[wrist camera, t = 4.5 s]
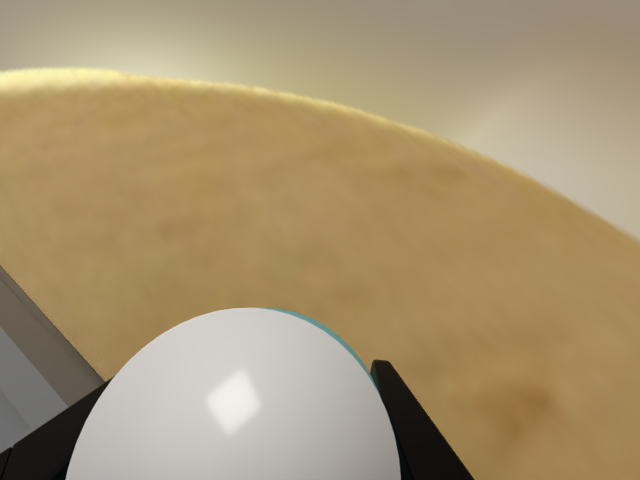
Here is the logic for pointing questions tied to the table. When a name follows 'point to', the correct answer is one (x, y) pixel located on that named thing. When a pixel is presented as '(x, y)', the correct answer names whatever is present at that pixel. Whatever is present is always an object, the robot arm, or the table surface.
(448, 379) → the table surface
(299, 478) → the ball
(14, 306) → the tray
